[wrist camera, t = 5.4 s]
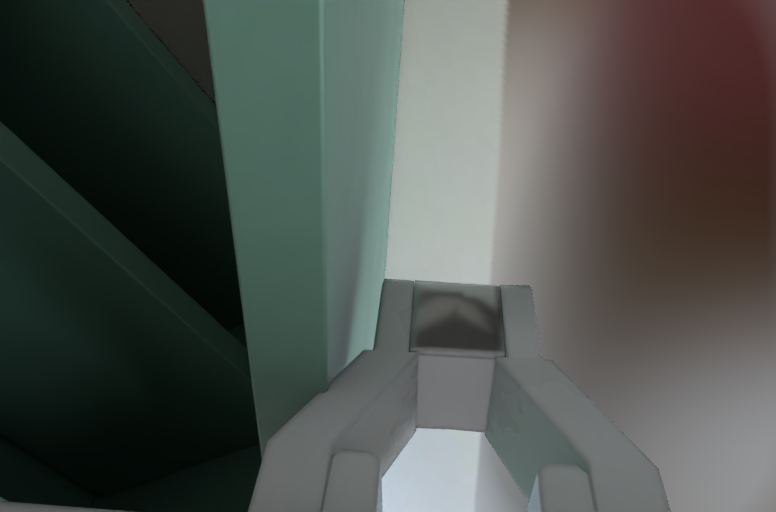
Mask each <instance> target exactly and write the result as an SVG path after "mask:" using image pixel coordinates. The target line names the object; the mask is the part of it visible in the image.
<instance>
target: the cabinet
mask: <svg viewBox="0 0 776 512" xmlns="http://www.w3.org/2000/svg"><path fill="white" fill-rule="evenodd" d="M261 463H262V458H261V450H260V443H259V435H258V427H257V419H256V412H255V404H254V396H253V388H252V381H251V373H250V365H249V357H248V349H247V342H246V334H245V326H244V318H243V311H242V303H241V295H240V287H239V280H238V272H237V264H236V256H235V249H234V241H233V233H232V225H231V217H230V210H229V202H228V194H227V186H226V179H225V171H224V163H223V155H222V148H221V140H220V132H219V124H218V117H217V109H216V106H215V105H214V103H213V102H212V101H211V100H210V99H209V97H208V96H207V95H206V94H205V93H204V92H203V90H202V89H201V88H200V87H199V86H198V85H197V83H196V82H195V81H194V80H193V79H192V77H191V76H190V75H189V74H188V73H187V72H186V70H185V69H184V68H183V67H182V66H181V65H180V63H179V62H178V61H177V60H176V59H175V57H174V56H173V55H172V54H171V53H170V52H169V50H168V49H167V48H166V47H165V46H164V45H163V43H162V42H161V41H160V40H159V39H158V37H157V36H156V35H155V34H154V33H153V32H152V30H151V29H150V28H149V27H148V26H147V25H146V23H145V22H144V21H143V20H142V19H141V17H140V16H139V15H138V14H137V13H136V12H135V10H134V9H133V8H132V7H131V6H130V5H129V3H128V2H127V1H126V0H0V501H6V502H19V503H31V504H44V505H57V506H70V507H83V508H96V509H109V510H122V511H135V512H248V509H249V506H250V502H251V499H252V495H253V492H254V488H255V484H256V481H257V477H258V474H259V470H260V466H261Z"/></svg>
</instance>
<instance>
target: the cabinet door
mask: <svg viewBox="0 0 776 512" xmlns="http://www.w3.org/2000/svg"><path fill="white" fill-rule="evenodd" d="M203 8H204V16H205V23H206V31H207V39H208V47H209V54H210V62H211V70H212V78H213V85H214V93H215V101H216V109H217V117H218V124H219V132H220V140H221V148H222V155H223V163H224V171H225V179H226V186H227V194H228V202H229V210H230V217H231V225H232V233H233V241H234V249H235V256H236V264H237V272H238V280H239V287H240V295H241V303H242V311H243V318H244V326H245V334H246V342H247V349H248V357H249V365H250V373H251V381H252V388H253V396H254V404H255V412H256V419H257V427H258V435H259V443H260V450H261V458H262V459H263V456H264V452H265V449H266V445H267V441H268V440H269V439H270V438H271V437H272V436H273V435H275V434H276V433H277V432H278V431H279V430H280V429H281V428H282V427H283V426H284V425H285V424H286V423H287V422H288V421H289V420H290V419H291V418H292V417H294V416H295V415H296V414H297V413H298V412H299V411H300V410H301V409H302V408H303V407H304V406H305V405H306V404H307V403H308V402H309V401H310V400H311V399H313V398H314V397H315V396H316V395H317V394H318V393H324V392H327V391H328V388H329V383H330V381H332V380H333V379H334V378H335V377H336V376H337V375H338V374H339V373H340V372H341V371H342V370H343V369H344V368H345V367H346V366H347V365H348V364H349V363H351V362H352V361H353V360H354V359H355V358H356V357H357V356H358V355H359V354H360V353H361V352H362V351H363V350H373V347H374V339H375V332H376V325H377V318H378V311H379V303H380V296H381V289H382V284H383V281H384V276H385V264H386V250H387V236H388V222H389V208H390V194H391V180H392V166H393V152H394V138H395V124H396V110H397V96H398V82H399V68H400V54H401V40H402V26H403V12H404V0H203Z"/></svg>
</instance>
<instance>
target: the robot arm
mask: <svg viewBox="0 0 776 512" xmlns="http://www.w3.org/2000/svg"><path fill="white" fill-rule="evenodd" d="M416 428H432V429H453V430H464V431H475V432H485V436H486V438H487V439H488V441H489V442H490V444H491V445H492V447H493V448H494V450H495V451H496V453H497V454H498V456H499V458H500V459H501V461H502V462H503V464H504V465H505V467H506V468H507V470H508V472H509V473H510V475H511V476H512V478H513V479H514V481H515V482H516V484H517V486H518V487H519V489H520V490H521V492H522V493H523V495H524V496H525V498H526V499H527V501H528V503H529V506H528V510H527V512H671V511H670V508H669V504H668V500H667V497H666V493H665V490H664V486H663V483H662V479H661V476H660V473H659V469H658V468H657V467H656V466H655V465H654V464H653V463H652V462H651V461H650V460H649V459H648V458H647V456H646V455H645V454H644V453H643V452H642V451H641V450H640V449H639V448H638V447H637V446H636V445H635V444H634V443H633V442H632V441H631V440H630V439H629V438H628V437H627V436H626V435H625V434H624V433H623V432H622V431H621V430H620V429H619V428H618V427H617V426H616V425H615V424H614V423H613V422H612V421H611V420H610V419H609V418H608V417H607V416H606V415H605V414H604V413H603V412H602V411H601V410H600V409H599V407H597V405H596V404H594V402H593V401H592V400H591V399H590V398H589V397H588V396H587V395H586V394H585V393H584V392H583V391H582V390H581V389H580V388H579V387H578V386H577V385H576V384H575V383H574V382H573V381H572V380H571V379H570V378H569V377H568V376H567V375H566V374H565V373H564V372H563V371H562V370H561V369H560V368H559V367H558V366H557V365H556V364H555V363H554V362H553V361H552V360H543V358H542V351H541V344H540V337H539V331H538V324H537V317H536V312H535V304H534V297H533V291H532V289H531V287H530V286H525V285H499V286H498V285H482V284H460V283H446V282H432V281H418V280H415V283H414V281H410V280H396V279H384V281H383V284H382V289H381V296H380V303H379V311H378V318H377V325H376V332H375V339H374V347H373V350H363V351H362V352H361V353H360V354H359V355H358V356H357V357H356V358H355V359H354V360H353V361H352V362H351V363H349V364H348V365H347V366H346V367H345V368H344V369H343V370H342V371H341V372H340V373H339V374H338V375H337V376H336V377H335V378H334V379H333V380H332V381H330V383H329V388H328V391H327V392H324V393H318V394H317V395H316V396H315V397H314V398H313V399H311V400H310V401H309V402H308V403H307V404H306V405H305V406H304V407H303V408H302V409H301V410H300V411H299V412H298V413H297V414H296V415H295V416H294V417H292V418H291V419H290V420H289V421H288V422H287V423H286V424H285V425H284V426H283V427H282V428H281V429H280V430H279V431H278V432H277V433H276V434H275V435H273V436H272V437H271V438H270V439H269V440H268V441H267V445H266V449H265V452H264V456H263V459H262V463H261V466H260V470H259V474H258V477H257V481H256V484H255V488H254V492H253V495H252V499H251V502H250V506H249V509H248V512H382V481H381V478H382V477H383V476H384V474H385V473H386V472H387V470H388V469H389V467H390V466H391V465H392V463H393V462H394V461H395V459H396V458H397V456H398V455H399V454H400V452H401V451H402V450H403V448H404V447H405V445H406V444H407V443H408V441H409V440H410V439H411V437H412V436H413V435H414V433H415V432H416ZM0 512H135V511H122V510H109V509H96V508H83V507H70V506H57V505H44V504H31V503H19V502H6V501H0Z"/></svg>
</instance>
